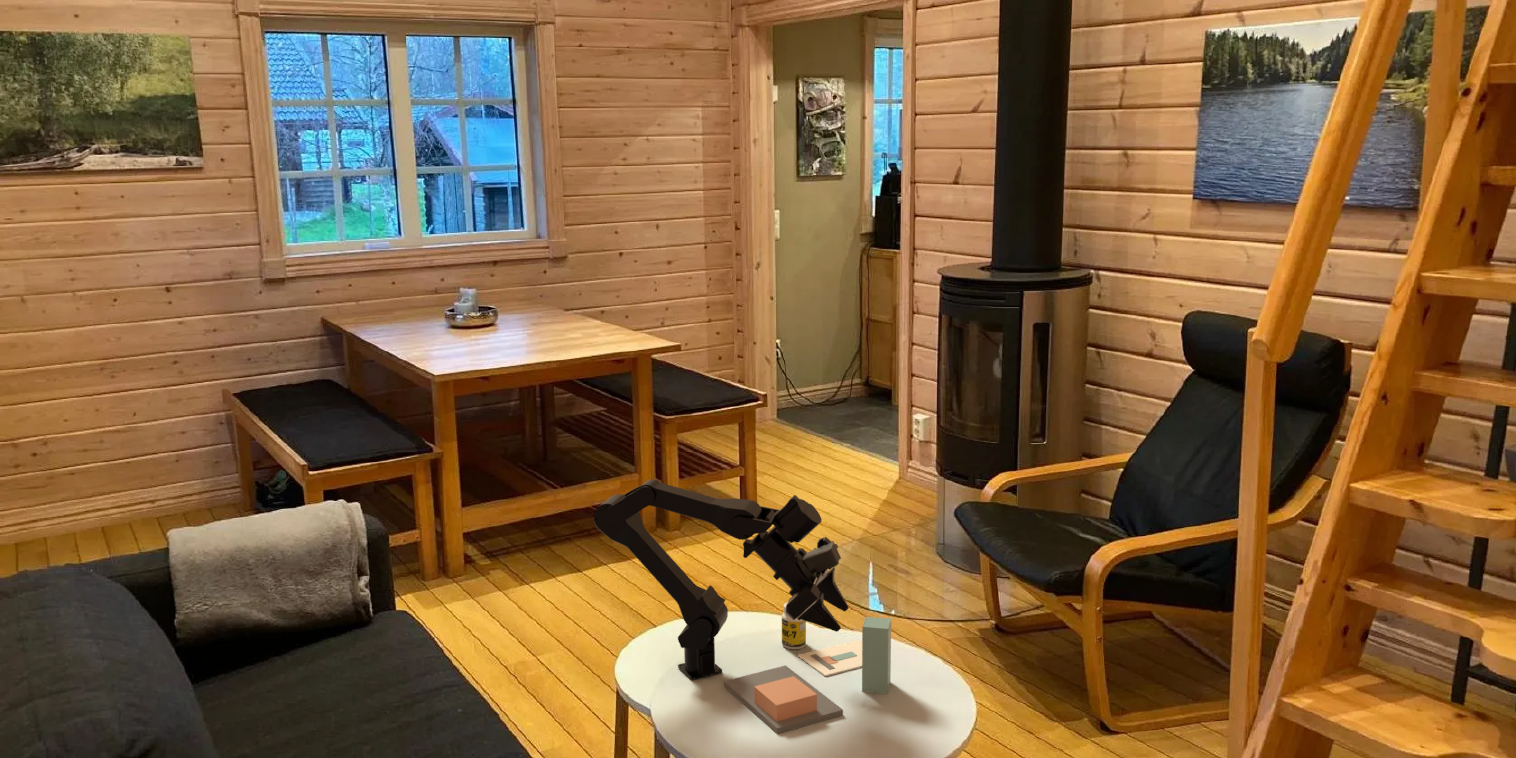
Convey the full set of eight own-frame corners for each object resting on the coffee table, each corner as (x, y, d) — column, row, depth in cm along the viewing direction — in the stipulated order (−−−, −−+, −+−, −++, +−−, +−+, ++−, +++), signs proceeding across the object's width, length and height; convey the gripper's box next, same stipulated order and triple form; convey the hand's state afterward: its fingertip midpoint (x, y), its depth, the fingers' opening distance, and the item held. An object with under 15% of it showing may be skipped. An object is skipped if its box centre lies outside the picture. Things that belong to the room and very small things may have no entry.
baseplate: (723, 686, 210) (723, 665, 209) (785, 670, 216) (785, 650, 215) (777, 733, 192) (777, 711, 192) (842, 714, 198) (842, 693, 198)
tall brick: (862, 691, 207) (862, 626, 205) (865, 679, 211) (865, 616, 209) (887, 693, 206) (888, 628, 204) (890, 682, 210) (891, 618, 208)
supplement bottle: (777, 646, 226) (776, 606, 225) (790, 637, 230) (789, 598, 228) (797, 652, 224) (797, 611, 222) (810, 643, 227) (810, 603, 226)
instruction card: (797, 656, 222) (797, 654, 221) (858, 641, 228) (858, 639, 228) (825, 676, 213) (825, 674, 213) (887, 660, 219) (887, 658, 219)
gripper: (803, 547, 197) (867, 612, 196) (822, 513, 214) (881, 573, 214) (759, 587, 200) (822, 651, 200) (781, 551, 218) (839, 610, 217)
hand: (843, 619), depth 208 cm, fingers open, 9 cm apart
